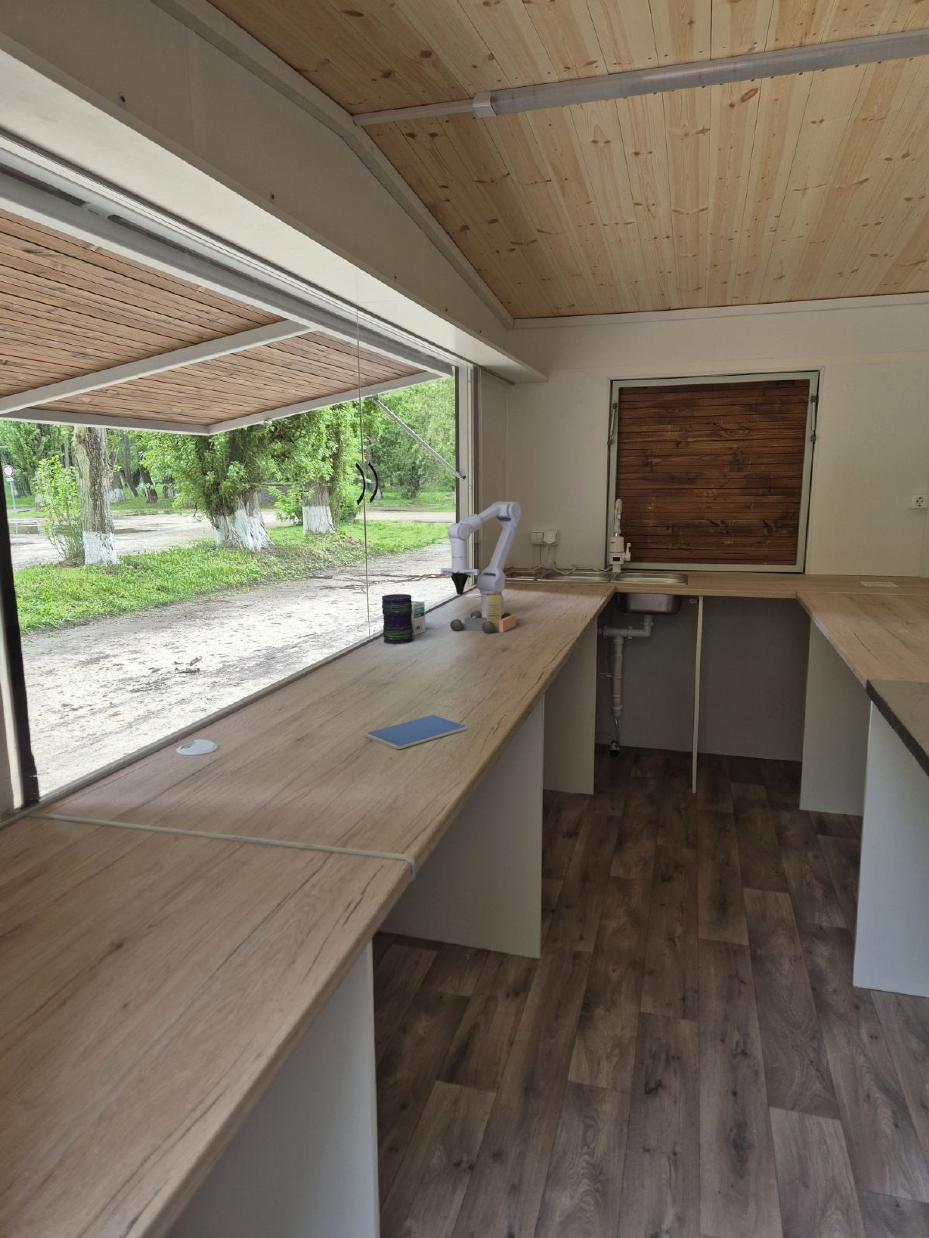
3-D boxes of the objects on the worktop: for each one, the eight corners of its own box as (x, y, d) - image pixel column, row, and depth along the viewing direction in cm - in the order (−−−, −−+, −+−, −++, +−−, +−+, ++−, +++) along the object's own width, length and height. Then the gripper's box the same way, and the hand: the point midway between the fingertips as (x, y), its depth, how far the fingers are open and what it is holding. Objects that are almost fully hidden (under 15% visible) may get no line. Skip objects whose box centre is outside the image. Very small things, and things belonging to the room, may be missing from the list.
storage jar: (412, 644, 265) (410, 598, 262) (381, 644, 265) (379, 599, 262) (414, 637, 275) (413, 593, 272) (385, 638, 275) (383, 594, 272)
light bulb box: (426, 632, 284) (425, 601, 282) (415, 635, 278) (414, 604, 276) (401, 629, 290) (400, 599, 288) (389, 632, 284) (388, 602, 282)
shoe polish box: (501, 626, 290) (500, 593, 288) (501, 629, 285) (500, 595, 283) (487, 626, 290) (486, 593, 288) (487, 629, 286) (486, 595, 283)
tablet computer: (433, 718, 188) (433, 713, 188) (470, 731, 179) (469, 725, 178) (363, 738, 175) (363, 732, 175) (399, 753, 166) (398, 747, 166)
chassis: (469, 621, 302) (469, 610, 301) (519, 624, 294) (519, 613, 293) (447, 630, 285) (447, 619, 284) (499, 634, 277) (499, 622, 276)
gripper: (436, 557, 294) (437, 594, 297) (473, 558, 288) (473, 596, 291) (445, 555, 301) (445, 592, 303) (481, 556, 295) (481, 593, 297)
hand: (460, 594), depth 297 cm, fingers closed
